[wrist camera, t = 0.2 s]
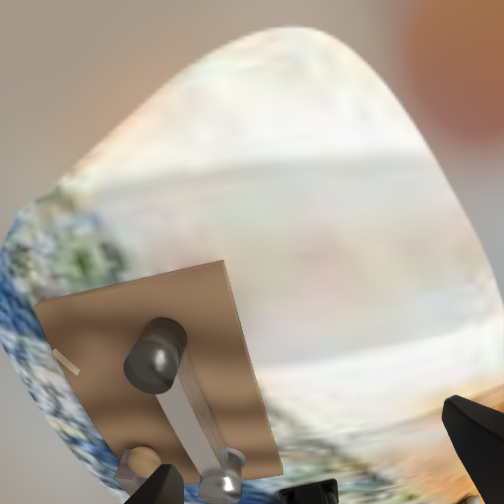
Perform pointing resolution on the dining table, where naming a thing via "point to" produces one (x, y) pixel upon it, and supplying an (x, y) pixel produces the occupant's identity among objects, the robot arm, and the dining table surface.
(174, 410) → the lever
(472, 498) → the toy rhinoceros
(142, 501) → the robot arm
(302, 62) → the dining table surface
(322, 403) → the dining table surface
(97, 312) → the base
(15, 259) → the dining table surface
